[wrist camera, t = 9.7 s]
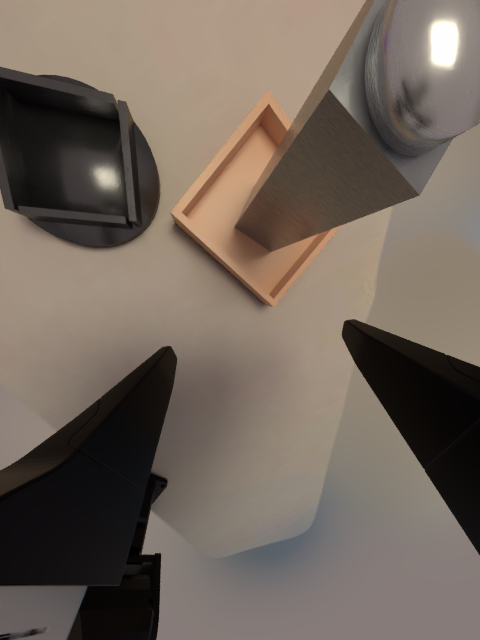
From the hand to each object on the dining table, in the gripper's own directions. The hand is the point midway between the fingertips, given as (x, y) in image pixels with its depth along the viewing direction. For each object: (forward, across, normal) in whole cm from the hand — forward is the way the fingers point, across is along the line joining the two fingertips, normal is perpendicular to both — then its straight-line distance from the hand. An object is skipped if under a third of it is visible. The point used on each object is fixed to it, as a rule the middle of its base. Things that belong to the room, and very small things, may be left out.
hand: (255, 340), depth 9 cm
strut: (+13, -3, -4) cm, 14 cm away
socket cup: (+12, +12, -10) cm, 19 cm away
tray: (+14, -2, -4) cm, 15 cm away
